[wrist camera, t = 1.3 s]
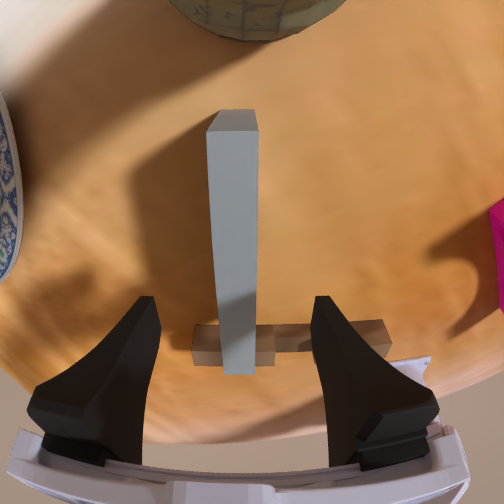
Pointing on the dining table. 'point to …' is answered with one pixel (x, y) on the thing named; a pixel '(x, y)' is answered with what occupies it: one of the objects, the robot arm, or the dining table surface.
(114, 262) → the dining table surface
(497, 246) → the toy block
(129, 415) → the robot arm
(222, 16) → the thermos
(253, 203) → the slate plate
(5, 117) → the ceramic plate
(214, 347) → the walnut rail
